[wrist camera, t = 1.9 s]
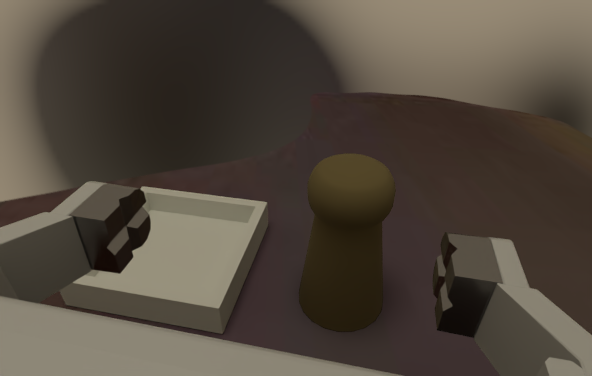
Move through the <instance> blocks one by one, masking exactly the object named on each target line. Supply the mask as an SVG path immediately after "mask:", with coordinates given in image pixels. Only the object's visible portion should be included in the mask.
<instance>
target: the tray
mask: <svg viewBox="0 0 592 376" xmlns="http://www.w3.org/2000/svg"><path fill="white" fill-rule="evenodd" d="M141 190H142V191H143V192H144V194H145V198H146V203H145V205H144V206H143V208H144V209H145V210H146V211H147V212H148V214H149V215H150V220H151V230H150V233H149V236H148V238H147V240H146V241H145V243H144V244H143V246H141V247H139V248H137V249H135V250H133V258H132V260H131V261H130V262H129V263H128V265H127V266H126V267H125V268H124V270H123V271H122V272H121V273H120V274H118V273H112V272H105V271H98V270H92V269H91V270H92V271H91V272H89V273H87V274H86V275H84V276H82V277H81V278H79V279H77V280H76V281H74V282H73V283H71V284H69V285H68V286H66V287H64V288H63V289H61V290H59V291H60V293H61V295H62V297H63V299H64V302H65V304H66V305H69V306H74V307H80V308H85V309H91V310H96V311H101V312H107V313H112V314H118V315H123V316H128V317H134V318H139V319H144V320H150V321H155V322H161V323H166V324H171V325H177V326H182V327H188V328H193V329H198V330H204V331H209V332H214V333H220V334H223V332H224V330H225V327H226V325H227V323H228V320H229V318H230V315H231V313H232V311H233V308H234V306H235V303H236V301H237V299H238V296H239V294H240V292H241V289H242V287H243V284H244V282H245V280H246V277H247V275H248V272H249V270H250V268H251V265H252V263H253V260H254V258H255V256H256V253H257V251H258V249H259V246H260V244H261V241H262V239H263V237H264V234H265V232H266V229H267V227H268V206H267V202H261V201H253V200H245V199H237V198H229V197H221V196H214V195H206V194H198V193H190V192H182V191H174V190H167V189H159V188H151V187H142V188H141Z"/></svg>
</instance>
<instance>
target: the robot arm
mask: <svg viewBox="0 0 592 376" xmlns="http://www.w3.org/2000/svg"><path fill="white" fill-rule="evenodd" d="M145 203H146V198H145V194H144V192H143V191H142V190H141V189H138V188H132V187H126V186H120V185H114V184H106V183H101V182H94V181H92V182H86V183H85V184H84V185H83V186H82V187H80V188H79V189H78V190H77V191H76V192H74V193H73V194H72V195H71V196H70V197H68V198H67V199H66V200H65V201H64V202H62V203H61V204H60V205H59V206H58V207H56V208H55V209H54V210H53V211H52V212H50V213H47V212H44V213H41V214H38V215H35V216H32V217H30V218H27V219H24V220H21V221H18V222H15V223H13V224H10V225H7V226H4V227H1V228H0V376H403V375H397V374H392V373H387V372H382V371H377V370H372V369H367V368H362V367H357V366H352V365H347V364H342V363H337V362H332V361H327V360H322V359H317V358H312V357H307V356H302V355H297V354H292V353H287V352H282V351H277V350H272V349H267V348H262V347H257V346H251V345H246V344H241V343H236V342H231V341H226V340H221V339H216V338H211V337H206V336H201V335H196V334H191V333H186V332H181V331H175V330H170V329H165V328H160V327H155V326H150V325H145V324H140V323H135V322H130V321H125V320H120V319H115V318H110V317H105V316H100V315H94V314H89V313H84V312H79V311H74V310H69V309H64V308H59V307H54V306H49V305H44V304H39V302H41V301H43V300H44V299H46V298H48V297H49V296H51V295H53V294H54V293H56V292H58V291H59V290H61V289H63V288H64V287H66V286H68V285H69V284H71V283H73V282H74V281H76V280H77V279H79V278H81V277H82V276H84V275H86V274H87V273H89V272H91V271H92V270H98V271H105V272H112V273H118V274H120V273H121V272H122V271H123V270H124V268H125V267H126V266H127V265H128V263H129V262H130V261H131V260H132V258H133V250H135V249H137V248H139V247H141V246H143V244H144V243H145V241H146V240H147V238H148V236H149V233H150V230H151V220H150V215H149V214H148V212H147V211H146V210H145V209H144V208H143V206H144V205H145ZM441 252H442V255H440V256H439V257H437V259H436V263H435V267H434V274H433V294H434V296H435V297H436V298H437V303H436V306H435V315H436V324H437V330H438V331H443V332H448V333H453V334H458V335H463V336H467V337H472V338H474V340H475V342H476V343H477V345H478V346H479V347H480V349H481V350H482V351H483V353H484V354H485V355H486V357H487V358H488V360H489V361H490V362H491V364H492V365H493V366H494V368H495V369H496V370H497V372H498V373H499V375H500V376H592V335H590V334H589V333H588V332H587V331H586V330H584V329H583V328H582V327H581V326H580V325H578V324H577V323H576V322H575V321H574V320H572V319H571V318H570V317H569V316H568V315H567V314H565V313H564V312H563V311H562V310H561V309H559V308H558V307H557V306H556V305H555V304H553V303H552V302H551V301H550V300H549V299H547V298H546V297H545V296H544V295H543V294H541V293H540V292H539V291H538V290H537V289H531V288H530V287H529V285H528V282H527V279H526V276H525V274H524V271H523V268H522V266H521V263H520V260H519V258H518V255H517V252H516V250H515V247H514V244H513V242H512V241H511V240H508V239H499V238H491V237H488V238H485V237H478V236H470V235H463V234H456V233H448V232H445V234H444V236H443V238H442V242H441ZM91 269H92V270H91Z"/></svg>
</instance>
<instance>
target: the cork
mask: <svg viewBox="0 0 592 376" xmlns="http://www.w3.org/2000/svg"><path fill="white" fill-rule="evenodd" d="M395 192H396V189H395V182H394V180H393V177H392V175H391V173H390V171H389V169H388V168H387V167H386V166H385V165H384V164H383V163H381V162H379V161H377V160H375V159H373V158H371V157H367V156H364V155H359V154H339V155H334V156H331V157H328V158H326V159H324V160H322V161H321V162H320V163H318V164H317V166H316V167H315V168H314V169H313V171H312V173H311V175H310V178H309V181H308V200H309V204H310V207H311V209H312V210H313V212H314V214H315V216H314V221H313V226H312V231H311V236H310V241H309V246H308V250H307V255H306V260H305V265H304V270H303V275H302V280H301V285H300V289H299V302H300V305H301V307H302V309H303V312H304V313H305V314H306V315H307V316H308V317H309V318H310V319H311V320H312V321H313V322H315V323H316V324H318V325H320V326H322V327H323V328H326V329H330V330H334V331H338V332H342V331H355V330H359V329H362V328H365V327H367V326H368V325H370V324H371V323H372V322H374V321H375V320H376V318H377V317H378V315H379V314H380V312H381V309H382V303H383V274H382V221H383V220H384V219H385V218H386V217H387V216H388V214H389V213H390V211H391V209H392V207H393V202H394V197H395Z"/></svg>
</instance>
